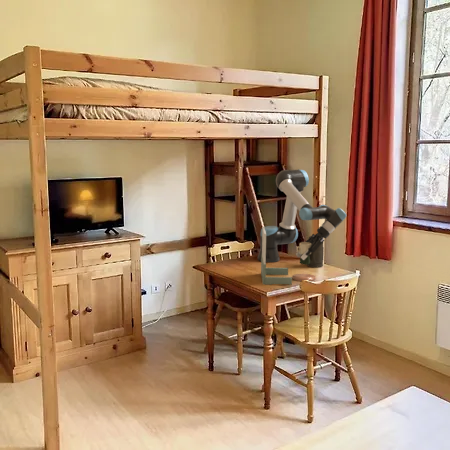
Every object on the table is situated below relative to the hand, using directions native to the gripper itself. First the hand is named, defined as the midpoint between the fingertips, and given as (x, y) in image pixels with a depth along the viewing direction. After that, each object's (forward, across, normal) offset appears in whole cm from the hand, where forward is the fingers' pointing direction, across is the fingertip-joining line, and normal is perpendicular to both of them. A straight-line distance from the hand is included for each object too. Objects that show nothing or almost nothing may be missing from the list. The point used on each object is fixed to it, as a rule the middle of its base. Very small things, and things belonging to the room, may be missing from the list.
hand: (299, 257), depth 317 cm
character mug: (+1, 0, -6) cm, 6 cm away
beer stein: (-5, +28, -24) cm, 37 cm away
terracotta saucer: (+7, 0, -12) cm, 14 cm away
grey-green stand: (+19, +3, 0) cm, 19 cm away
